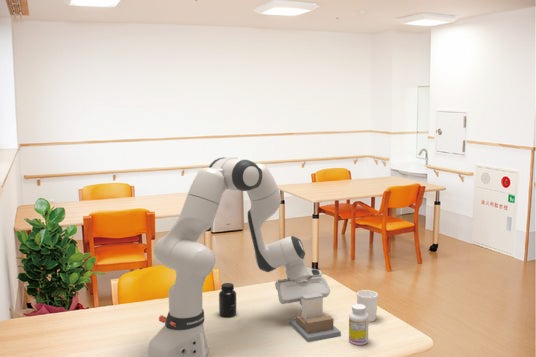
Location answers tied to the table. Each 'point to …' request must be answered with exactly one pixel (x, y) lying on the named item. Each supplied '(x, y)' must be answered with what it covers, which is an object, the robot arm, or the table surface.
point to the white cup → (368, 302)
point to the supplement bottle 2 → (358, 325)
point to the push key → (312, 306)
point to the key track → (314, 335)
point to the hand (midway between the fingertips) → (309, 310)
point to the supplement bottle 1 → (227, 300)
